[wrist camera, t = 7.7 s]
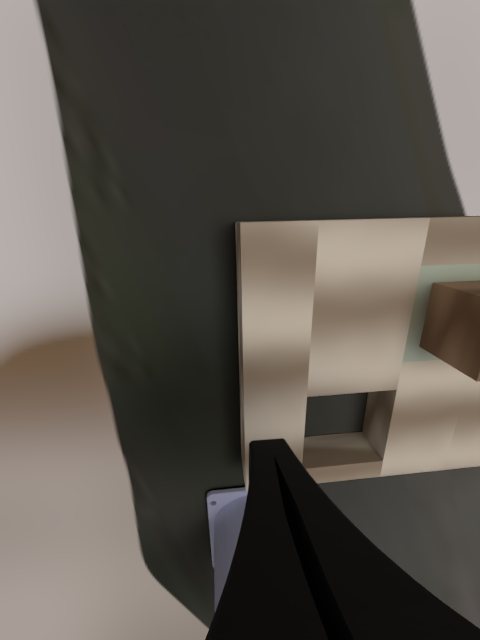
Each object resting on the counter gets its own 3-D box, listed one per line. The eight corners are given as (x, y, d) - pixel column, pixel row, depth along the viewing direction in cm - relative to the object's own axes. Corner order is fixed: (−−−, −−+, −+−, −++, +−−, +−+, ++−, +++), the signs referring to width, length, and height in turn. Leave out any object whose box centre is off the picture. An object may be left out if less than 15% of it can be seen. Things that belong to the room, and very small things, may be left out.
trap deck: (491, 433, 25) (527, 460, 22) (241, 457, 23) (245, 490, 20) (567, 213, 19) (631, 212, 16) (235, 222, 17) (240, 222, 14)
